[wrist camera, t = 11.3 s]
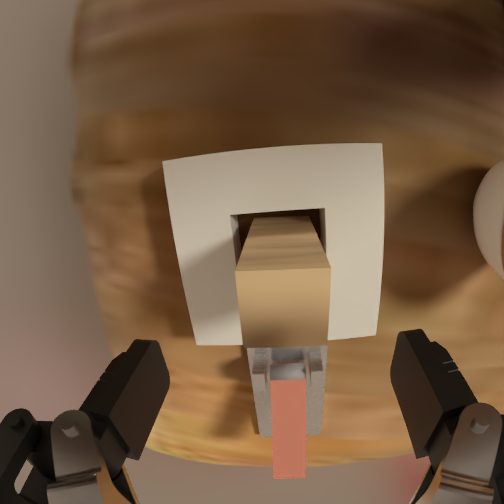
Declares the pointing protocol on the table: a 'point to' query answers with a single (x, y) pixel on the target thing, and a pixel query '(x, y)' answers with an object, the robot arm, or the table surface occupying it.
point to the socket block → (279, 199)
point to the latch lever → (288, 419)
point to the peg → (283, 284)
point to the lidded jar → (491, 218)
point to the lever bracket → (314, 382)
